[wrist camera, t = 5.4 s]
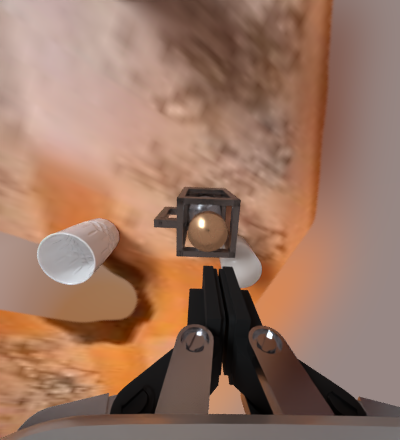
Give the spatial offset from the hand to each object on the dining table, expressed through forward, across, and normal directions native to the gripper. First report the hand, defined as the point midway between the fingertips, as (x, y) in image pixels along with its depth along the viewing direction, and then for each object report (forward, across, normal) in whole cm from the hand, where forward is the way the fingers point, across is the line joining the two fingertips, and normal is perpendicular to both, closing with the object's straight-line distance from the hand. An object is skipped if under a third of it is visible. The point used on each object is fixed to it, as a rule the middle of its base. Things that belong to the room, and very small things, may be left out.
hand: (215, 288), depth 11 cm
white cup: (+25, +19, +6) cm, 32 cm away
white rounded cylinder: (+24, -6, +8) cm, 26 cm away
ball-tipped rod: (+21, 0, 0) cm, 21 cm away
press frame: (+24, +1, 0) cm, 24 cm away
